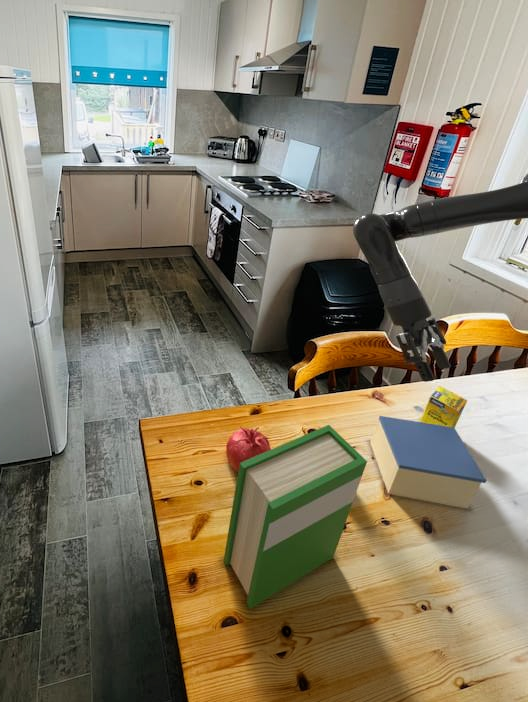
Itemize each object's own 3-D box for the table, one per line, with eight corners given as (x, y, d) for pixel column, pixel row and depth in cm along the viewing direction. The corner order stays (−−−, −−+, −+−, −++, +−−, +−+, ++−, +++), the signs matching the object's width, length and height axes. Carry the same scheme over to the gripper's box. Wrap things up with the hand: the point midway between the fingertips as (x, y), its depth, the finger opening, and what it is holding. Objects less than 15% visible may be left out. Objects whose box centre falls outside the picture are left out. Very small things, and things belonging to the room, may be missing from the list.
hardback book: (249, 610, 61) (272, 509, 51) (223, 561, 67) (239, 462, 57) (332, 558, 68) (367, 461, 58) (302, 519, 74) (328, 424, 64)
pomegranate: (249, 494, 78) (255, 461, 74) (215, 458, 85) (219, 426, 82) (281, 469, 84) (289, 437, 80) (247, 437, 91) (252, 406, 87)
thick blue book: (438, 455, 88) (449, 429, 85) (467, 510, 77) (481, 482, 74) (369, 443, 91) (378, 418, 87) (387, 495, 79) (398, 468, 76)
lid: (453, 430, 85) (454, 427, 85) (485, 483, 74) (486, 480, 73) (378, 418, 87) (379, 415, 87) (398, 468, 76) (399, 465, 76)
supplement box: (443, 447, 90) (459, 411, 86) (415, 431, 95) (429, 395, 90) (452, 435, 94) (468, 399, 90) (424, 419, 98) (439, 385, 94)
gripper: (406, 302, 78) (443, 383, 74) (434, 288, 86) (469, 361, 83) (371, 311, 84) (404, 387, 80) (401, 298, 92) (432, 366, 89)
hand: (437, 374), depth 82 cm, fingers open, 8 cm apart
